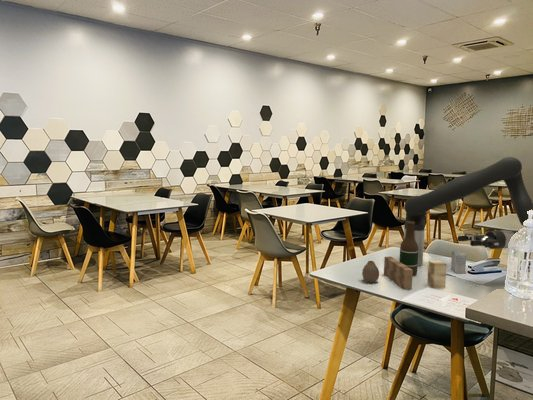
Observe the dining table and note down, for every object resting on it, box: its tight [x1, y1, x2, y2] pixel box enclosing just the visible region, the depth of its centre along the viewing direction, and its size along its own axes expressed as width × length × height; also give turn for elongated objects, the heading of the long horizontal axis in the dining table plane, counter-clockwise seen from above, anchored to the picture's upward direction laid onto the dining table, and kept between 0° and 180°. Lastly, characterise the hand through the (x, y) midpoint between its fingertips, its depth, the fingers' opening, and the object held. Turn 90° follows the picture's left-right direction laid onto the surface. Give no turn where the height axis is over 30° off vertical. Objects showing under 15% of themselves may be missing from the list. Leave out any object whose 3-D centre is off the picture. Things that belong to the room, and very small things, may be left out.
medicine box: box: [450, 250, 467, 274], centre depth 187 cm, size 8×4×9 cm, turn 168°
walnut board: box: [383, 256, 413, 290], centre depth 173 cm, size 20×3×8 cm, turn 8°
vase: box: [361, 260, 380, 284], centre depth 172 cm, size 7×7×9 cm
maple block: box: [426, 260, 448, 289], centre depth 167 cm, size 5×5×10 cm
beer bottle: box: [398, 221, 418, 277], centre depth 182 cm, size 8×8×24 cm
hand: (464, 240), depth 167 cm, fingers open, 8 cm apart
